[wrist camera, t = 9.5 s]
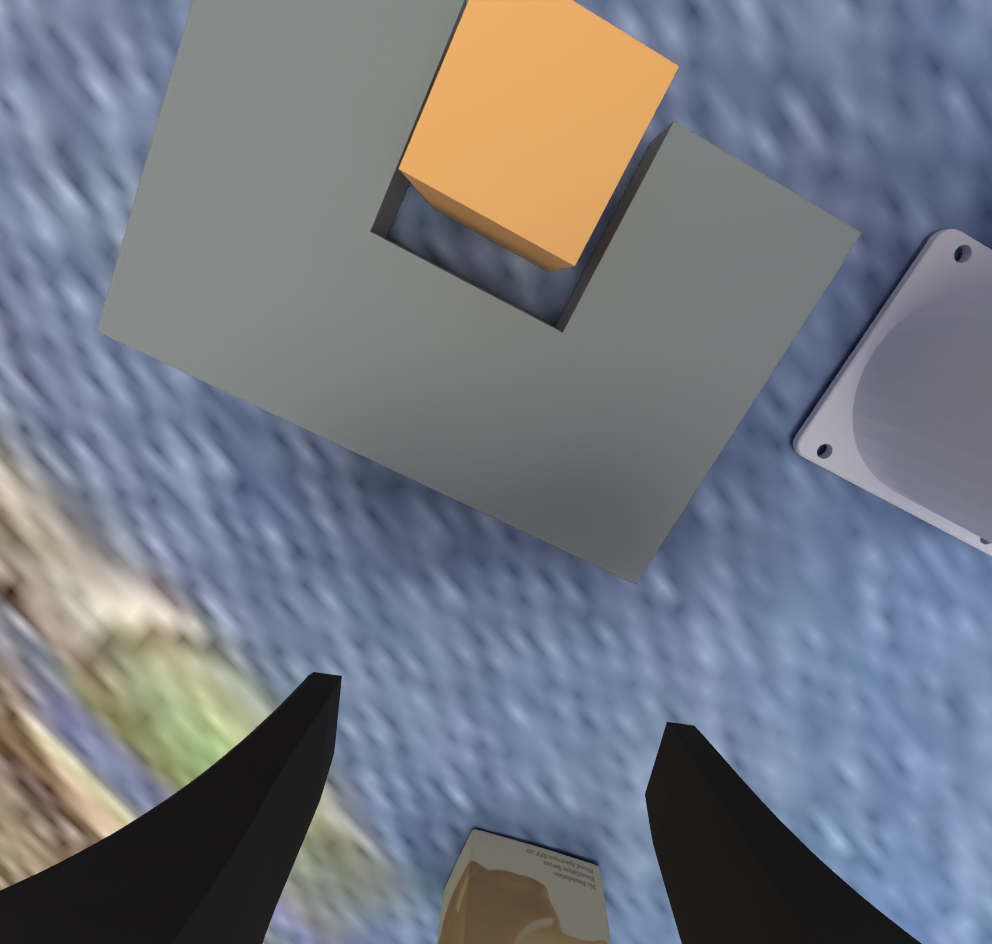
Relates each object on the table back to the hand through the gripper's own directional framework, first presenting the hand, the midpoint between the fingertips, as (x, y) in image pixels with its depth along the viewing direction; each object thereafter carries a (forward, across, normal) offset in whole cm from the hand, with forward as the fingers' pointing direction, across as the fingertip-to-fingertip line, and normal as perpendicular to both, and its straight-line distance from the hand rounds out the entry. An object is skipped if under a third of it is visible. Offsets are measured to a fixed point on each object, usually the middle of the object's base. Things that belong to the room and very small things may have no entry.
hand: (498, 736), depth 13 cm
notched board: (+9, +2, -9) cm, 13 cm away
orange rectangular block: (+10, +1, -12) cm, 16 cm away
